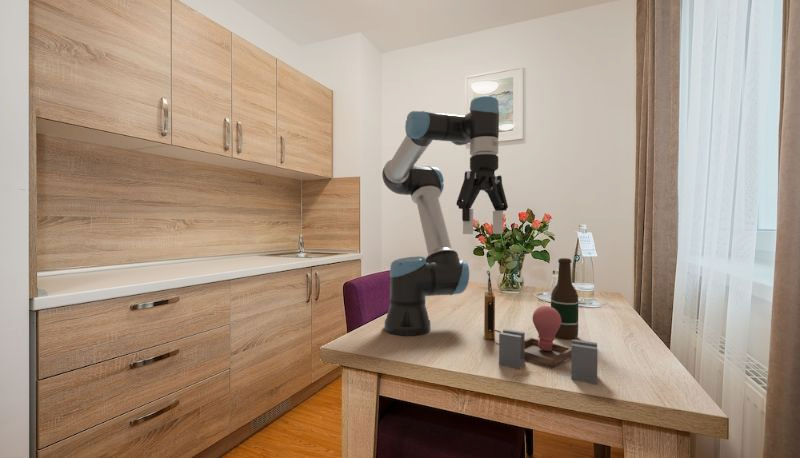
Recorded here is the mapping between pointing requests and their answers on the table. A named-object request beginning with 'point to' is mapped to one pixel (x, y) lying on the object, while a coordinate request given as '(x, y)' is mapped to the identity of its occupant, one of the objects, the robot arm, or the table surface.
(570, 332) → the beer bottle
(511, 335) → the grey block
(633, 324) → the table surface
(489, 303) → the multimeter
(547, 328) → the light bulb
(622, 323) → the table surface
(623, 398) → the table surface
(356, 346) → the table surface
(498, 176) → the robot arm
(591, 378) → the grey flat block
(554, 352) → the shallow rectangular tray
